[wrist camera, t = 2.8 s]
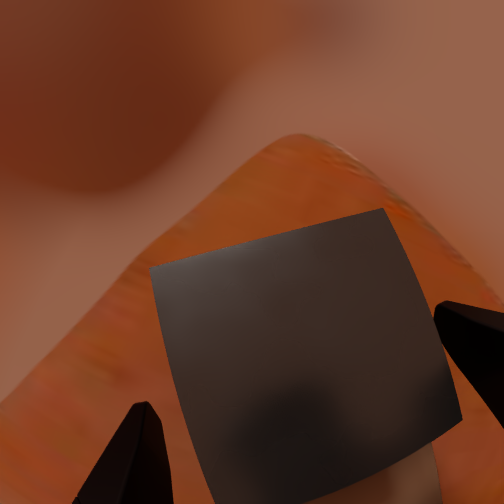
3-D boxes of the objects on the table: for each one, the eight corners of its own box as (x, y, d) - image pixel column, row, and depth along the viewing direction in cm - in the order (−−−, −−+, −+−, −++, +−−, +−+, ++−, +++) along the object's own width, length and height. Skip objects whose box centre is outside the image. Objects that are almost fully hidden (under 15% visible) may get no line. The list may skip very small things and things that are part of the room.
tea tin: (352, 405, 14) (462, 419, 6) (235, 444, 13) (223, 522, 5) (315, 297, 17) (382, 208, 8) (201, 330, 16) (149, 268, 7)
